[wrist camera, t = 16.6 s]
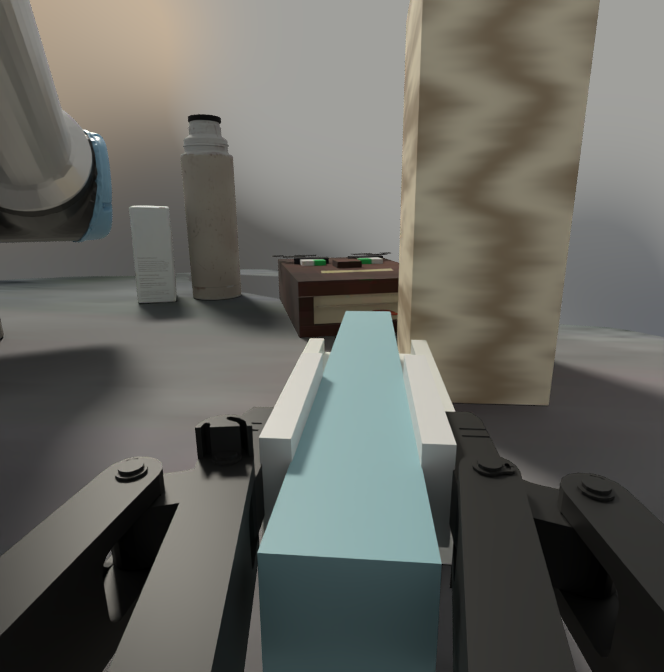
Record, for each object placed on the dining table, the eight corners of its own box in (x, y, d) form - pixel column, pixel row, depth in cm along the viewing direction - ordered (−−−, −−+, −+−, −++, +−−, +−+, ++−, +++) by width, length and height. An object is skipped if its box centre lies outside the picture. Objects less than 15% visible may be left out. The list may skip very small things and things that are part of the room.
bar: (264, 696, 8) (257, 552, 8) (345, 353, 31) (345, 310, 31) (433, 712, 8) (441, 563, 7) (389, 354, 31) (390, 311, 31)
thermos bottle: (184, 295, 77) (167, 116, 70) (225, 290, 83) (213, 123, 75) (208, 301, 72) (192, 108, 64) (250, 295, 77) (240, 115, 70)
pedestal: (407, 401, 33) (427, -115, 25) (396, 341, 49) (406, 9, 41) (548, 405, 32) (616, -129, 24) (492, 343, 48) (522, 3, 40)
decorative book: (288, 277, 46) (269, 253, 75) (291, 347, 48) (271, 298, 77) (462, 270, 50) (380, 250, 78) (458, 336, 52) (380, 293, 80)
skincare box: (140, 295, 78) (129, 205, 74) (177, 293, 80) (168, 205, 76) (138, 304, 70) (125, 204, 66) (178, 301, 72) (169, 204, 68)
